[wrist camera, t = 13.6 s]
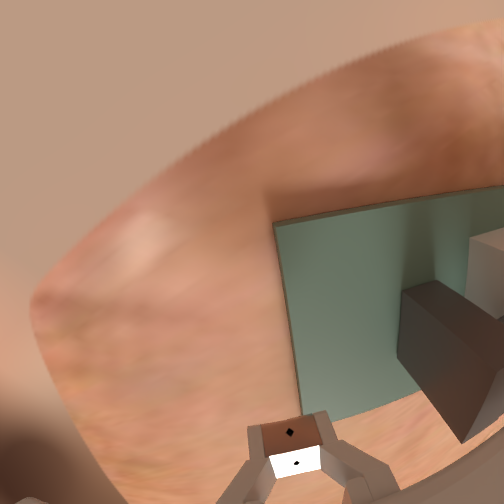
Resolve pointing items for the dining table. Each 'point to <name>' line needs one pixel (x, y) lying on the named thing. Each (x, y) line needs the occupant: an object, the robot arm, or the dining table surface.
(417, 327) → the dark grey angled block
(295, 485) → the dining table surface
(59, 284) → the dining table surface
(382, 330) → the base
